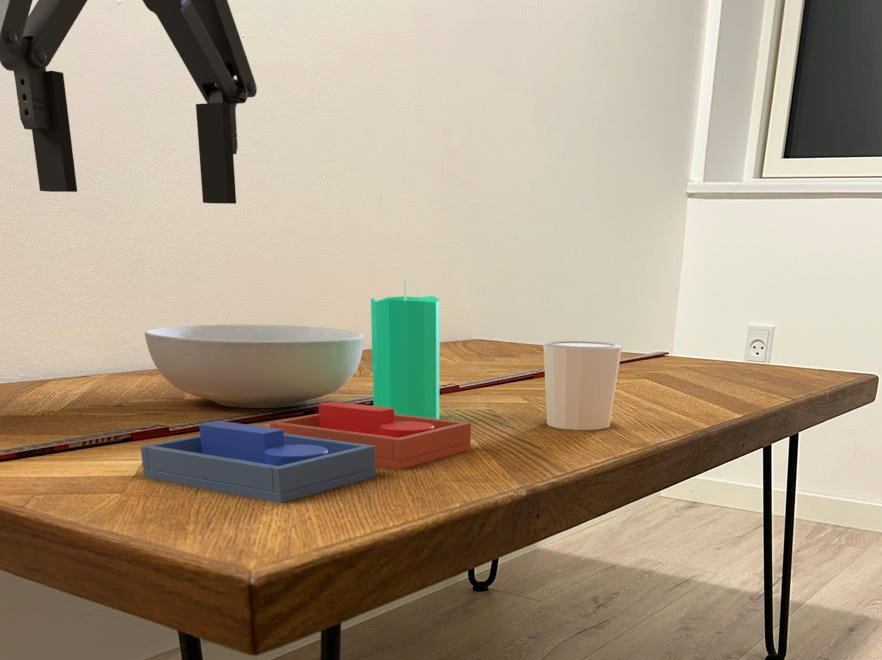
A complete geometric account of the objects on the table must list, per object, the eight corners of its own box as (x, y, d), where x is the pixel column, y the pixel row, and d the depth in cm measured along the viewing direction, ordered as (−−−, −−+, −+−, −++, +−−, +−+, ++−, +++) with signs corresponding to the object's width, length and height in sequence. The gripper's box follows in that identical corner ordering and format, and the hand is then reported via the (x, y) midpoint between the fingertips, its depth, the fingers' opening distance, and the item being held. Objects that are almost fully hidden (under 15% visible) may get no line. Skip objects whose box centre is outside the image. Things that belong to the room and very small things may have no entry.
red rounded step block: (310, 439, 73) (308, 405, 72) (343, 432, 76) (342, 399, 75) (413, 454, 68) (413, 417, 67) (444, 446, 71) (444, 411, 70)
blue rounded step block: (189, 465, 63) (186, 426, 62) (233, 455, 67) (230, 418, 66) (299, 484, 59) (297, 442, 58) (341, 473, 62) (339, 433, 61)
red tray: (271, 450, 72) (269, 422, 71) (348, 433, 79) (347, 408, 78) (400, 469, 66) (400, 439, 65) (470, 449, 73) (471, 422, 72)
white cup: (599, 434, 81) (604, 348, 78) (527, 426, 84) (530, 344, 81) (627, 423, 86) (633, 343, 84) (559, 416, 89) (563, 339, 87)
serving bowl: (266, 426, 82) (260, 343, 79) (106, 405, 92) (97, 330, 89) (406, 399, 98) (405, 330, 96) (258, 384, 108) (254, 321, 106)
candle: (416, 412, 90) (415, 278, 86) (452, 421, 86) (453, 280, 81) (361, 417, 87) (357, 278, 82) (396, 427, 82) (393, 280, 78)
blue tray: (143, 477, 62) (140, 445, 62) (244, 455, 70) (242, 427, 69) (281, 503, 56) (279, 468, 56) (376, 476, 64) (375, 445, 63)
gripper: (-59, -305, 45) (11, 185, 53) (297, -131, 65) (308, 207, 73) (-141, -269, 49) (-64, 185, 57) (219, -115, 68) (238, 206, 77)
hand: (145, 198), depth 65 cm, fingers open, 13 cm apart
